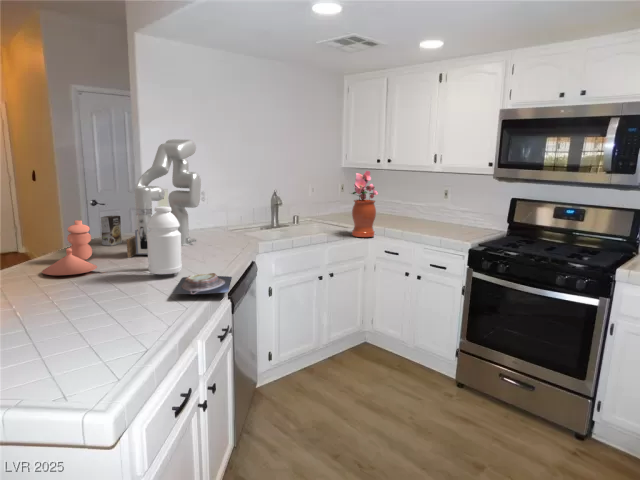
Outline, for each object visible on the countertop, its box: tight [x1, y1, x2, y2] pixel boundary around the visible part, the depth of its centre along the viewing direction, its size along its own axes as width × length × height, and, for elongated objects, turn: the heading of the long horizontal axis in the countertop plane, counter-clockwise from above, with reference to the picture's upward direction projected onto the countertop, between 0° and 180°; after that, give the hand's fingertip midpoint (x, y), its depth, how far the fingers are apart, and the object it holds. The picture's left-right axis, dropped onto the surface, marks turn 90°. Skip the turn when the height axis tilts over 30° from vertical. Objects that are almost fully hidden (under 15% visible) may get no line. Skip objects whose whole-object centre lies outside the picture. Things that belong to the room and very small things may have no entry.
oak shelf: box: [126, 235, 137, 259], centre depth 217 cm, size 14×15×9 cm
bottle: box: [147, 205, 183, 275], centre depth 184 cm, size 14×14×28 cm
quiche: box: [171, 272, 233, 295], centre depth 166 cm, size 21×20×4 cm
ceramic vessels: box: [41, 219, 98, 276], centre depth 190 cm, size 35×21×19 cm, turn 17°
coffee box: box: [100, 215, 123, 246], centre depth 242 cm, size 9×6×16 cm
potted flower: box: [349, 170, 379, 238], centre depth 292 cm, size 19×25×45 cm
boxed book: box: [134, 228, 148, 255], centre depth 215 cm, size 8×5×12 cm, turn 96°
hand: (145, 247), depth 215 cm, fingers closed on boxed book, 5 cm apart
